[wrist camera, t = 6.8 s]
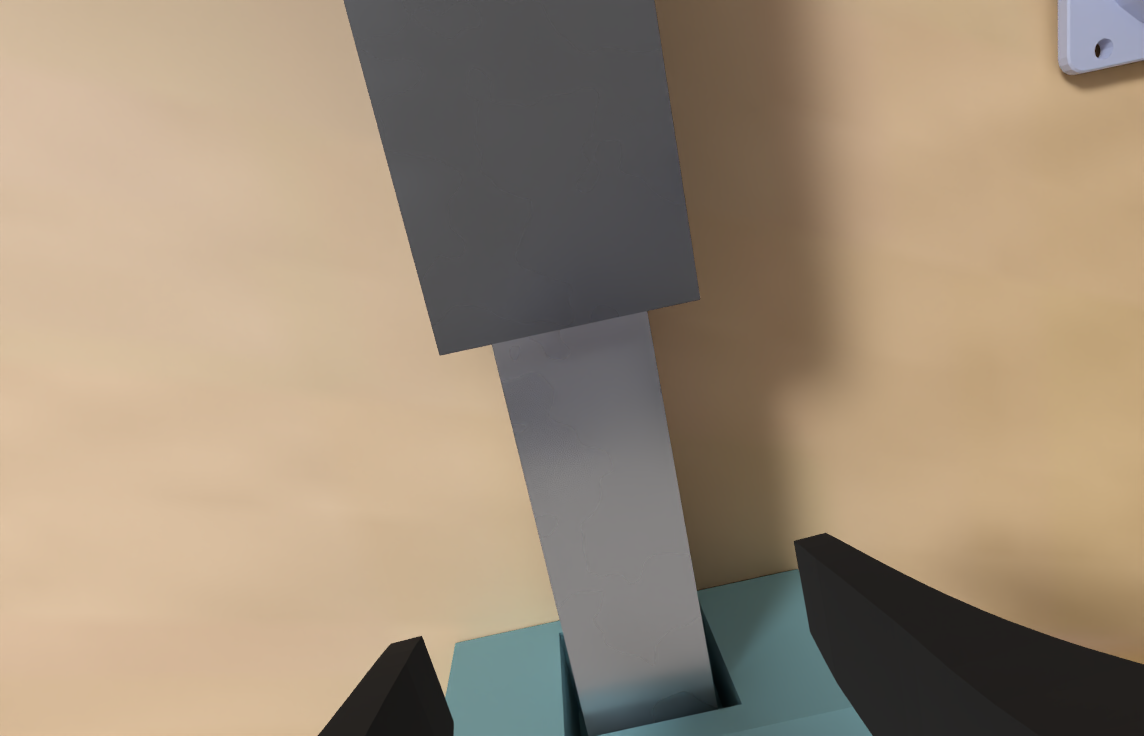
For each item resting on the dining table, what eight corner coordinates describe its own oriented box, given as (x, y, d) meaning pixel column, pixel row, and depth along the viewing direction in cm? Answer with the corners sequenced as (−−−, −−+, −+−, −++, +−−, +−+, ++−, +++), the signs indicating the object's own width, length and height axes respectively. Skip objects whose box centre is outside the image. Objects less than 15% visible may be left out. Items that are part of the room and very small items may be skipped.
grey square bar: (595, 130, 16) (611, 108, 13) (697, 684, 21) (730, 778, 17) (462, 158, 16) (442, 144, 13) (594, 706, 21) (605, 805, 17)
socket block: (797, 569, 21) (891, 698, 16) (812, 683, 22) (904, 841, 17) (455, 643, 21) (426, 799, 16) (488, 753, 22) (472, 935, 17)
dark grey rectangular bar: (553, -300, 15) (562, -594, 9) (651, 273, 18) (700, 299, 13) (324, -253, 15) (203, -519, 9) (468, 312, 18) (439, 355, 13)
